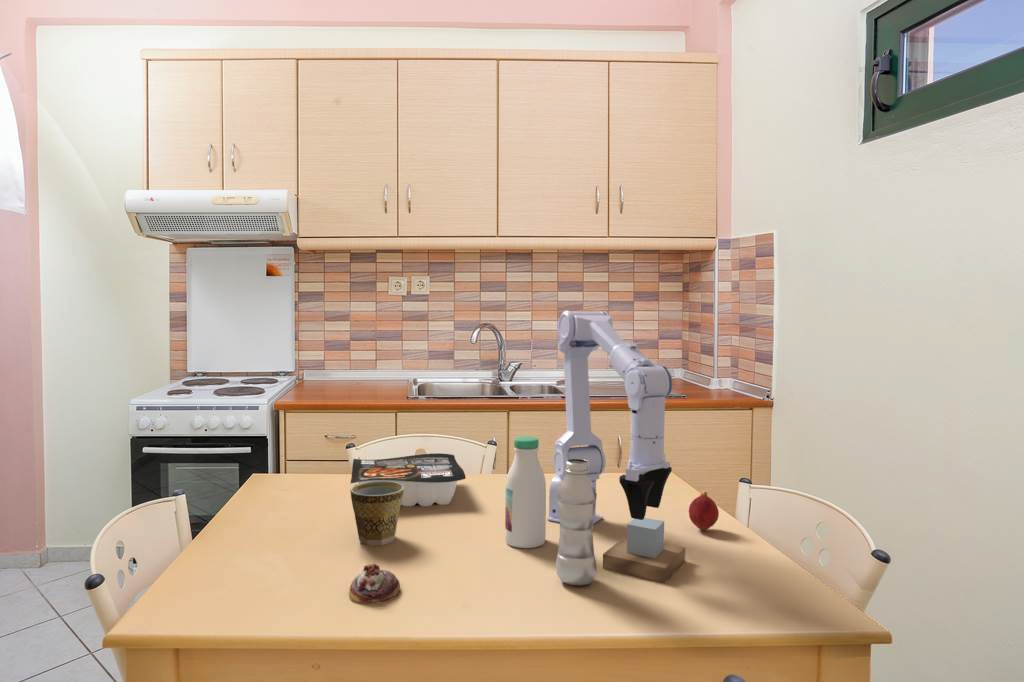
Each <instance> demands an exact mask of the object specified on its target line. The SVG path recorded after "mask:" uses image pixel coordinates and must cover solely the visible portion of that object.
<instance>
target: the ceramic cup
mask: <svg viewBox="0 0 1024 682" xmlns="http://www.w3.org/2000/svg"><path fill="white" fill-rule="evenodd" d="M403 490H404V487H403V485H401V484H399V483H396V482H389V481H373V482H366V483H361V484H359V483H358V484H354V485H353V486H352V487H351V488H350V490H349V491H350V499H351V505H352V509H353V513H354V520H355V525H356V530H357V537H358V540H359V542H361V543H362V544H365V545H367V546H383V545H387V544H390V543H393V541H394V539H395V536H396V533H397V527H398V526H397V525H398V520H399V516H400V515H399V513H400V509H401V506H402V505H401V502H402V497H403Z"/></svg>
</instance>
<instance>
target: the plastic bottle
mask: <svg viewBox="0 0 1024 682" xmlns="http://www.w3.org/2000/svg"><path fill="white" fill-rule="evenodd" d="M565 472H566V473H567V475H566V477H565V478H564V479H563V480H562V482H561V483H560V485H559V486H558V489H557V503H558V510H559V522H558V523H559V539H558V548H557V549H558V552H557V553H556V558H555V559H556V560H555V570H556V575H557V577H558V578H559V579H560V581H561V582H563V583H564V584H567V585H571V586H585V585H589V584H591V583H592V582H593V581H594V579H595V577H596V574H597V568H598V567H597V562H596V555H595V547H594V535H593V533H594V524H593V522H594V512H595V506H597V497H598V496H597V489H596V490H595V487H594V485H593V484H592V482H591V481H590V479H589V478H588V476H587V474H588V473H589V461H588V460H585V459H568V460H566V468H565Z"/></svg>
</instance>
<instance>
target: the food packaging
mask: <svg viewBox="0 0 1024 682" xmlns="http://www.w3.org/2000/svg"><path fill="white" fill-rule="evenodd" d="M455 457H456V456H455V454H451V453H439V452H438V453H436V452H435V453H424V454H423V453H422V454H415V455H407V456H399V457H398V456H397V457H391V458H379V459H358V458H353V460H352V468H351V479H350V485H351V484H355V483H358V484H361V483H366V482H373V481H389V482H396V483H399V484H401V485H403V487H404V490H403V497H402V502H401V506H402V507H414V506H415V505H417V504H418V505H419V506H421V507H430V506H432V505H434V504H435V503H436V504H437V505H442V506H443V505H449V504H450V503H451V500H452V499H453V496H454V495H455V492H456V489H457V482H458V481H462V480H465V479H466V478H467V477H466V474H465V470H464V469H463V468H462V467H461V466H460V465H459V463H458V462H457V459H456V458H455Z"/></svg>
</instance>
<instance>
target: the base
mask: <svg viewBox="0 0 1024 682" xmlns="http://www.w3.org/2000/svg"><path fill="white" fill-rule="evenodd" d="M685 561H686V546H681V545H677V544H671V543H667V542H664V549H663V550H662V551H661V553H660V554H659V555H658V556H657V557H656V558H650V557H645V556H640V555H635V554H631V553H627V534H626V535H624V537H622V538H621V539H620V540H618V542H616V543H615V544H613V545H612V546H611V547H610V548H608V549H607V550H606V551H605V552H603V553H602V569H605V570H607V571H612V572H613V571H614V572H616V573H621V574H625V575H630V576H634V577H638V578H641V579H642V578H643V579H647V580H651V581H654V582H659V583H662V582H663V584H665V582H666V583H667V582H668V580H670V578H671V577H672V576H673V575H674V574H675V572H676V571H677V570H678V569H679V568H680V567H681V566H682V565H683V564H684V563H685Z"/></svg>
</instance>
